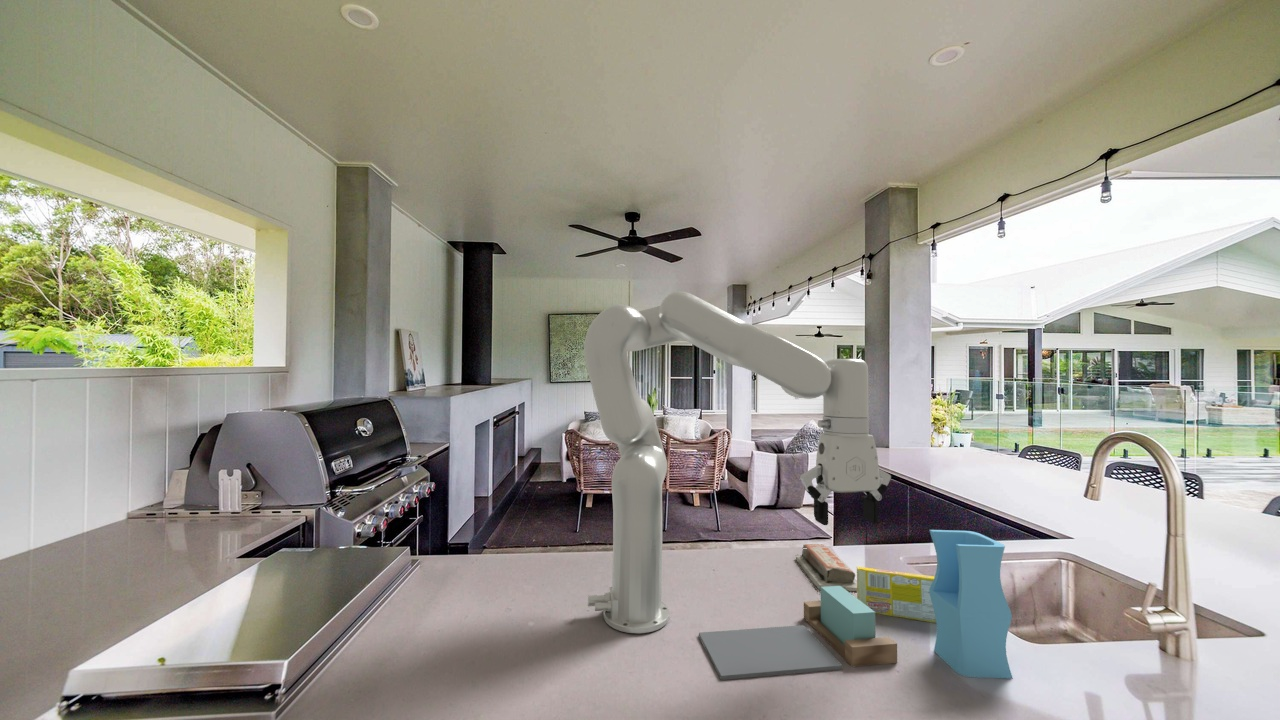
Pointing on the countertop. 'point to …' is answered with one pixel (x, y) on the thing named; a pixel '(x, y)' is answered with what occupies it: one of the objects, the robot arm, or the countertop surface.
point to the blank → (846, 615)
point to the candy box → (896, 593)
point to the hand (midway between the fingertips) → (846, 521)
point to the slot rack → (853, 642)
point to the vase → (970, 604)
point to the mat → (766, 652)
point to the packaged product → (826, 568)
